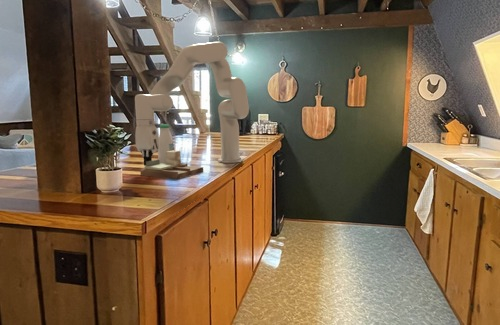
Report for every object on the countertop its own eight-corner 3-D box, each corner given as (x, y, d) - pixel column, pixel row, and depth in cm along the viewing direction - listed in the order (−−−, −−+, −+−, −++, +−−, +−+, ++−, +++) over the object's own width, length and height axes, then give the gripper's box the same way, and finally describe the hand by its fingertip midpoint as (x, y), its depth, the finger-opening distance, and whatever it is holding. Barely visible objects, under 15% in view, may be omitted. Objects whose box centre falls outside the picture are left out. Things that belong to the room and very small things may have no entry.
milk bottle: (165, 166, 173) (163, 125, 170) (155, 165, 178) (153, 124, 174) (177, 164, 179) (175, 124, 176) (167, 163, 184) (165, 123, 180)
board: (169, 168, 170) (168, 161, 169) (203, 171, 160) (203, 165, 160) (140, 174, 154) (140, 168, 154) (176, 179, 145) (176, 172, 144)
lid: (159, 165, 160) (159, 158, 160) (174, 166, 156) (174, 160, 156) (144, 168, 153) (144, 161, 152) (160, 170, 148) (159, 163, 148)
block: (173, 165, 165) (172, 150, 164) (181, 166, 163) (180, 150, 162) (166, 167, 161) (165, 151, 160) (174, 167, 159) (173, 152, 158)
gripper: (164, 123, 154) (166, 165, 157) (139, 122, 161) (142, 162, 165) (151, 124, 148) (154, 168, 151) (126, 123, 155) (129, 165, 158)
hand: (148, 165), depth 158 cm, fingers closed
